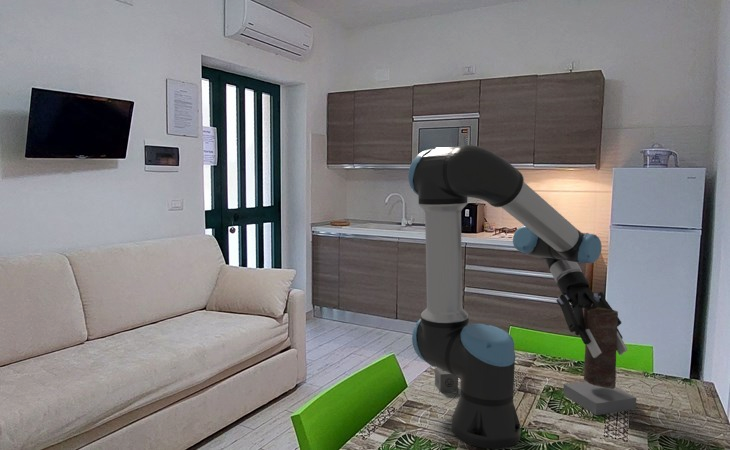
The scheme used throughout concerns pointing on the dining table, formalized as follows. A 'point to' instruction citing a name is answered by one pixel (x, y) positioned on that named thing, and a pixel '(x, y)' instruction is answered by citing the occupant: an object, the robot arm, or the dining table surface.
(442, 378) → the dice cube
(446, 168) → the robot arm
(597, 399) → the stand
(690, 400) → the dining table surface
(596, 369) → the candle
